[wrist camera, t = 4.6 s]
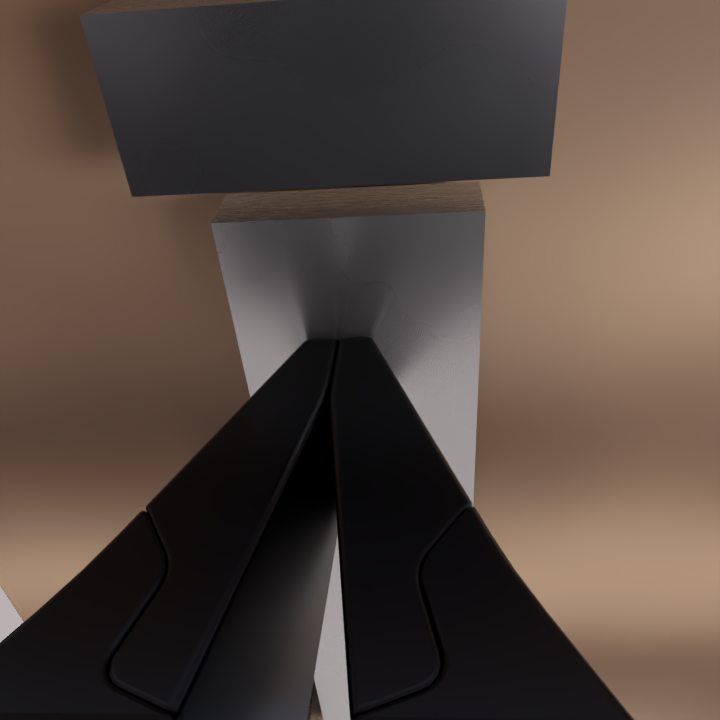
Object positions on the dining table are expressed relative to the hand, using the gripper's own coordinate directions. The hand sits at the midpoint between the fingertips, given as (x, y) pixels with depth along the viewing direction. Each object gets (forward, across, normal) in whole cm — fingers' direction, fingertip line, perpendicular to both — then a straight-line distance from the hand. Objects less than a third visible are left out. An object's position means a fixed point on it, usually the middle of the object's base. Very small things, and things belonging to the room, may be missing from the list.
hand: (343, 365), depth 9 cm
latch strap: (+1, 0, +5) cm, 5 cm away
